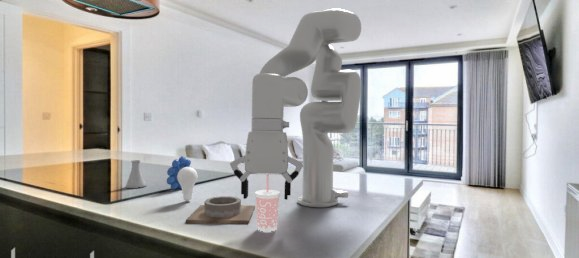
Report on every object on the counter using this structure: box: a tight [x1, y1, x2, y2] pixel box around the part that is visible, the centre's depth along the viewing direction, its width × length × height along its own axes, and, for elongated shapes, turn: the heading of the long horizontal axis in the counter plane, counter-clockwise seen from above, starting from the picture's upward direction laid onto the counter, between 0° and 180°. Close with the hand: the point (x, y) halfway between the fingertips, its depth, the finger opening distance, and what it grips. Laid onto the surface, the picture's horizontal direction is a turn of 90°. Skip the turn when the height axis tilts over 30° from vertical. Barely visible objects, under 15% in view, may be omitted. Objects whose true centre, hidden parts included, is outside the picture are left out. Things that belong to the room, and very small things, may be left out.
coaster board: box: [185, 195, 256, 224], centre depth 93 cm, size 16×14×4 cm
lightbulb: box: [177, 166, 198, 202], centre depth 107 cm, size 6×6×11 cm
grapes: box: [166, 156, 193, 191], centre depth 125 cm, size 12×7×12 cm, turn 151°
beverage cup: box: [254, 174, 281, 233], centre depth 82 cm, size 6×6×14 cm
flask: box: [125, 159, 147, 189], centre depth 128 cm, size 7×7×10 cm
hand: (265, 197), depth 81 cm, fingers open, 9 cm apart
